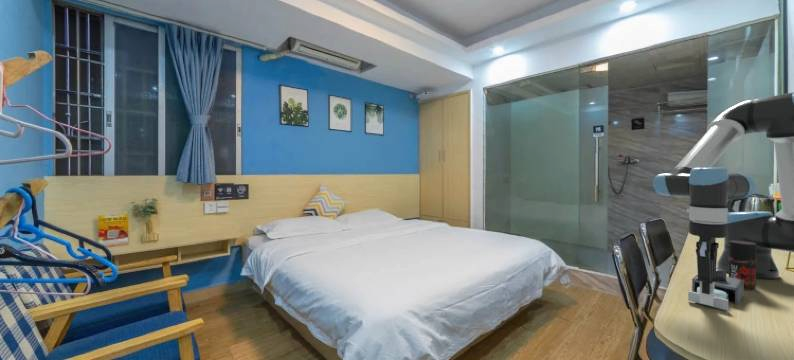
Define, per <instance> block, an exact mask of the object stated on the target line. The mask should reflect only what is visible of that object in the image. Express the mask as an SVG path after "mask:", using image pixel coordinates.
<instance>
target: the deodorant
mask: <svg viewBox="0 0 794 360" xmlns="http://www.w3.org/2000/svg"><path fill="white" fill-rule="evenodd" d="M728 277H731V278H736V279H741V280H744V291H752V292H753V291H756V289H757V288H756V287H757V285H756V284H757V283H756V282H757V278H756V243H752V242H746V241H736V240H731V241H729V273H728Z"/></svg>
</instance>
